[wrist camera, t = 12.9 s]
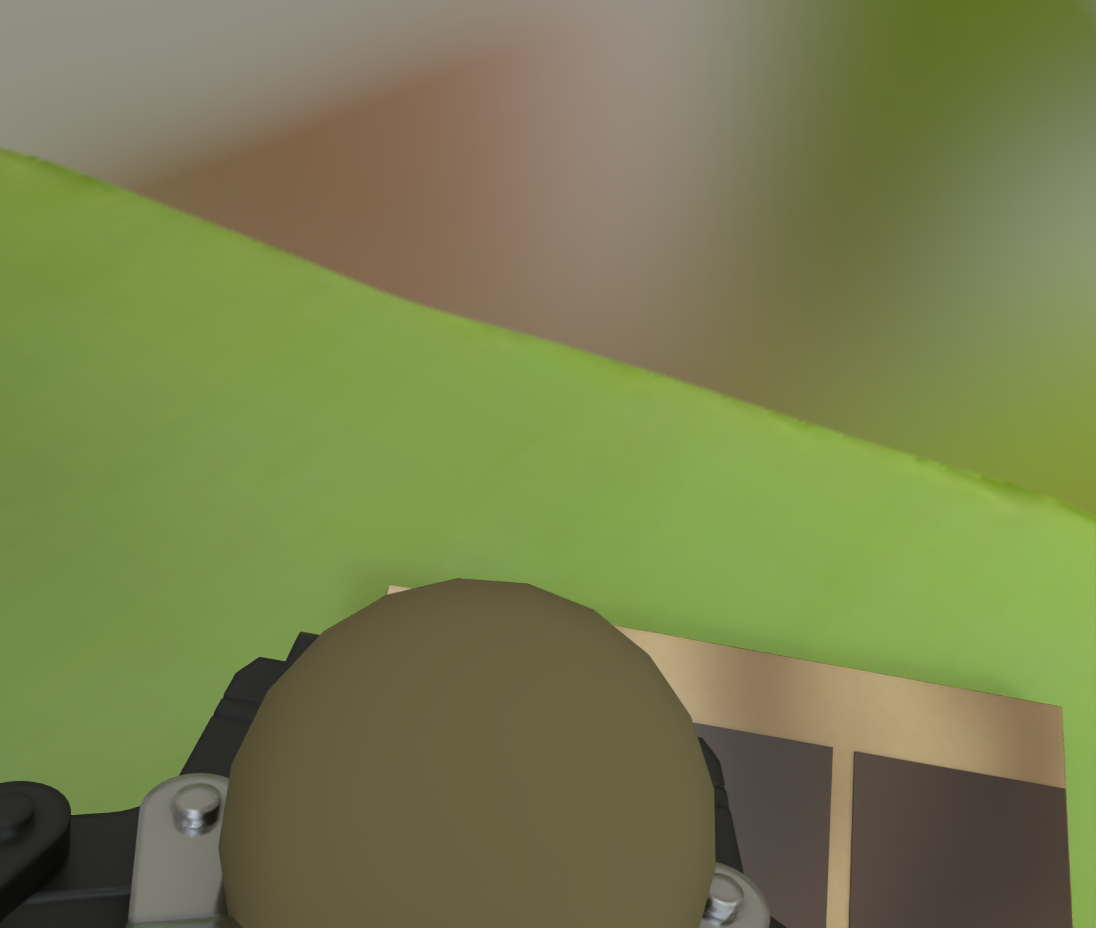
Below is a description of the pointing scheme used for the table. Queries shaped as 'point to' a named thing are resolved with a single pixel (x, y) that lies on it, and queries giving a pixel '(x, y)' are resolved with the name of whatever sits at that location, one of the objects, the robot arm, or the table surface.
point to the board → (880, 790)
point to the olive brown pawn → (470, 775)
